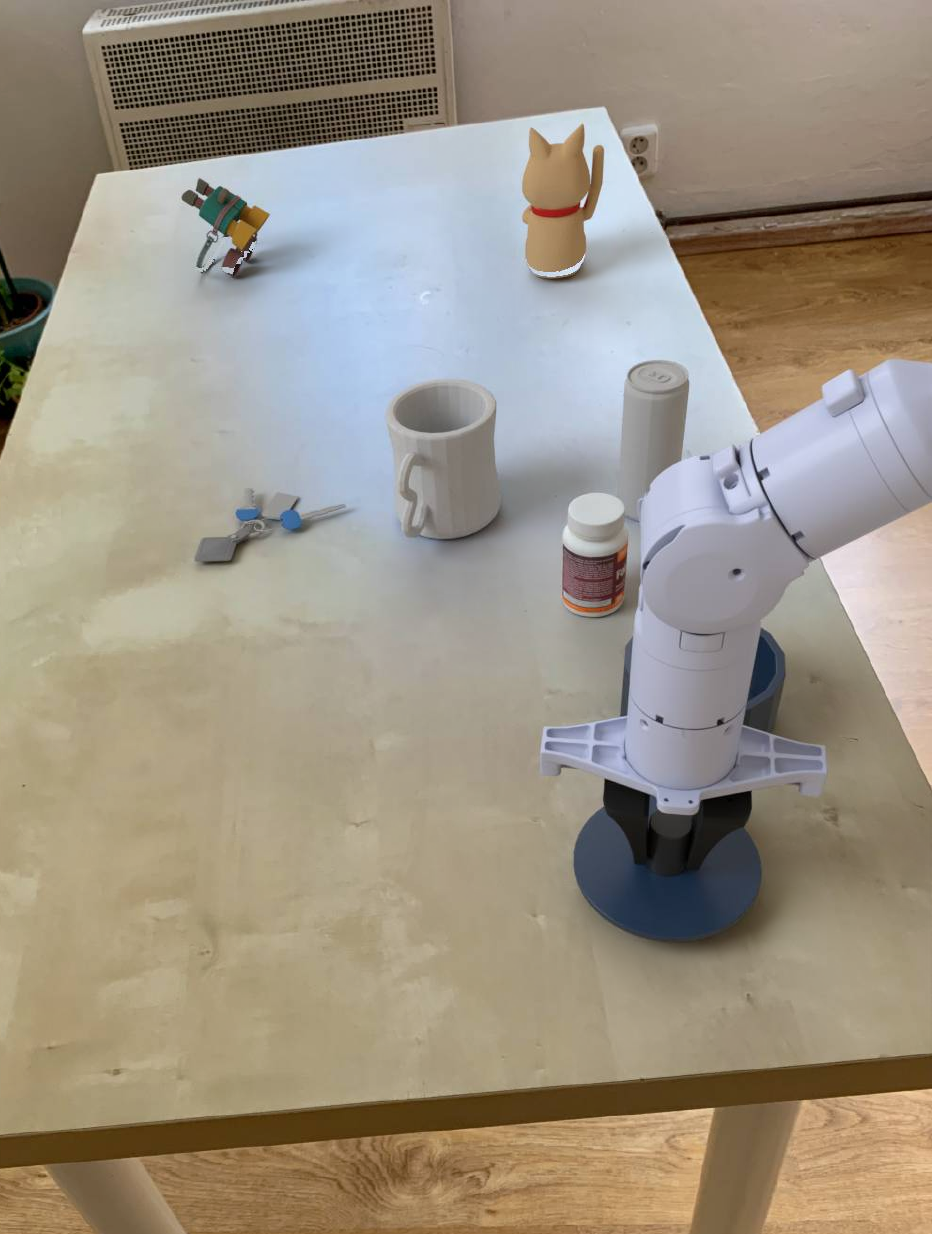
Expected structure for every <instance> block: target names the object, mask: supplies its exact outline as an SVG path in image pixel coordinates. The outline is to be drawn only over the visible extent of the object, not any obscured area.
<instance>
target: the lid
mask: <svg viewBox="0 0 932 1234" xmlns="http://www.w3.org/2000/svg"><path fill="white" fill-rule="evenodd" d="M692 816H693V815H679V814H667V813H663V812H661V811H660V810H658V808H657V799H656V797H655V796H653V795H650V803H649V819H648V838H647V860H646V865H636V864H634V859H633V854H632V850H631V847H630V845H629V842H628V840H627V838H626V836H625V834H624V832H623V831H622V829H621V828H620V826H619V825H618V824H617V823H616V822H615V821H614V820H613V819H612V818H611V817H609V816H608V815H607V813H606V811H605V807H604V806H602V807H601V808H600V809H598V810H597V811H595V813H593V814H592V816H591V817H589V818H588V819H587V821H586V822H585V823H584V825H583V826H582V828H581V830H580V831H579V833H578V835H577V838H576V841H575V843H574V849H573V861H572V862H573V863H572V864H573V865H572V866H573V872H574V877H575V881H576V884H577V886H578V888H579V890H580V893H581V894H582V896H583V897H584V899H585V901H586V902H587V903H588V904H589V906H590V907H592V909H593V910H594V911H595V912H596V913H597V914H598V915H599V916H600V917H602V918H603V920H605V921H607V922H608V923H609V924H612V925H613V926H614V927H616V928H618V929H620V930H622V931H624V932H626V933H628V934H631V935H633V936H636V937H639V938H642V939H645V940H650V941H657V942H662V943H663V942H664V943H688V942H694V941H701V940H705V939H708V938H711V937H713V936H716V935H718V934H721V933H723V932H725V931H726V930H728V929H729V928H731V927H733V926H734V925H735V924H737V923H738V922H739V921H741V920H742V919H743V918H744V917H745V915H746V914H747V913H748V912H749V911H750V909H751V908H752V906H753V905H754V904H755V901H756V899H757V896H758V894H759V890H760V886H761V882H762V869H763V868H762V860H761V856H760V854H759V850H758V848H757V846H756V843H755V841H754V839H753V838H752V837H751V835H750V833H749V832H748V830H747V829H746V828H745V826H744V827H742V828H740V829H737V830H735V831H733V832H731V833H729V834H728V835H727V836H725V837H724V838H723V839H722V840H720V841H719V842H718V843H717V844H716V845H715V847H714V848H713V849H712V850H711V851H710V853H709V854H708V855H707V857H706V858H705V860H704V861H703V863H702V865H701V867H700V869H699V870H689V869H687V858H688V852H689V846H690V841H691V834H692V828H693V822H692Z"/></svg>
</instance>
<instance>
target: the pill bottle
mask: <svg viewBox="0 0 932 1234" xmlns="http://www.w3.org/2000/svg"><path fill="white" fill-rule="evenodd" d="M566 520H567V521H566V522H567V524H566V525H565V526H564V528H563V531H562V534H561V535H562V537H561V586H560V587H561V589H560V590H561V595H560V597H561V602H562V604H563V606H564V607H565V608H566V609H567V610H568V611H570V612H571V613H573V614H575V615H577V616H581V617H588V618H599V617H605V616H608V615H611V614H613V613H614V612H616V611H617V610H618V609H620V607H621V606H622V604H623V603H624V599H625V590H626V580H627V579H626V577H627V565H628V563H627V562H628V548H629V531H628V528H627V526H626V525H625V523H626V522H625V521H626V516H625V506H624V504H623V502H622V501H621V500H620V499H619V498H618V496H615V495H613V494H609V493H604V492H588V493H585V494H581V495H580V496H577V497H575V498H574V499H573V500H572V501H570V504H569V506H568V509H567V519H566Z"/></svg>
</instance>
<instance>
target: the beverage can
mask: <svg viewBox="0 0 932 1234" xmlns="http://www.w3.org/2000/svg"><path fill="white" fill-rule="evenodd" d="M689 392H690V380H689V371H688V369H687V368H686V367H685V366H684V365H682V364H680V363H678V362H676V361H672V360H668V359H667V360H665V359H652V360H645V361H641V362H640V363H637V364H635V365H633V366H632V367H631V368H629V369H628V371H627V373H626V379H625V380H624V387H623V400H622V402H623V403H622V417H621V418H622V419H621V436H620V449H619V450H620V451H619V467H618V468H619V469H618V482H617V485H618V486H617V498H619V499H620V500H621V501H622V502H623V504H624V506H625V517H627V518H629V519H630V520H632V521H635V522H639V517H638V508H637V503H638V501H639V499H641V498H644V495H645V493H646V492H649V491H650V484H651V483H652V482H653V481H654V479H655V478H656V477H657V476H658V475H659V474H661V473H662V472H663V471H664V470H666V469H667V468H669V467H670V466H672V465H673V464H675V463H678V462H680V461H682V457H683V447H684V439H685V429H686V422H687V421H686V419H687V413H688V412H687V411H688V401H689V394H690V393H689Z"/></svg>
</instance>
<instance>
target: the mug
mask: <svg viewBox="0 0 932 1234" xmlns="http://www.w3.org/2000/svg"><path fill="white" fill-rule="evenodd" d="M384 418H385V422H386V428H387V431H388V436H389V438H390V443H391V447H392V458H393V467H394V468H393V469H394V497H393V498H394V511H395V514H396V517H397V519H398V521H399V522H400V529H401V531H402V532H403V534H404V535H405V536H406V537H407V538H411V539H412V538H417V537H418V536H421V537H424V538H428V539H435V540H452V539H458V538H462V537H467V536H470V535H472V534H475V533H477V532H479V531H481V530H482V529H484V528H485V527H487V526H488V525H489V524H490V523H491V522H492V521H493V520H494V519H495V518H496V517H497V515H498V513H499V511H500V508H501V503H502V502H501V501H502V500H501V499H502V498H501V497H502V496H501V495H502V493H501V487H500V482H499V474H498V470H497V465H496V449H495V430H496V419H497V399H496V398H495V396H494V394H493V393H492V392H491V391H490V390H488V389H487V388H486V387H485V386H484V385H483V386H482V385H481V384H479V383H477V382H474V381H469V380H465V379H456V378H455V379H454V378H444V379H443V378H441V379H432V380H428V381H423V382H420V383H417V384H414V385H411V386H408V387H406V388H405V389H404V390H401V391H399V392H398V393H397V394H396V395H395V396H394V397H392V399H391V400H390V402H389V403H388V405H387V406H386V408H385V415H384Z"/></svg>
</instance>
